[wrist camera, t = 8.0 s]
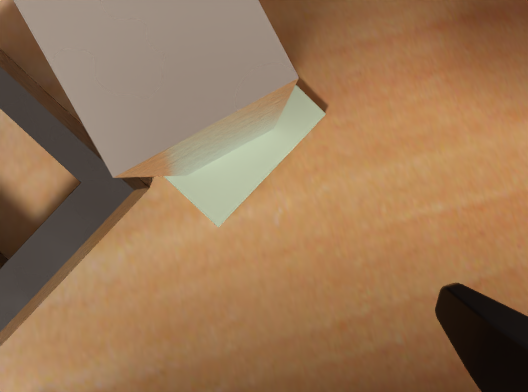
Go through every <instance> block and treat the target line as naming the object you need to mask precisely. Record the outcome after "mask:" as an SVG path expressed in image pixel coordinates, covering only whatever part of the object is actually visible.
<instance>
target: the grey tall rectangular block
mask: <svg viewBox="0 0 528 392" xmlns="http://www.w3.org/2000/svg"><path fill="white" fill-rule="evenodd" d="M14 2H15V4H16V6H17V7H18V9H19V11H20V13H21V15H22V16H23V18H24V20H25V22H26V23H27V25H28V27H29V29H30V31H31V32H32V34H33V36H34V38H35V39H36V41H37V43H38V45H39V47H40V48H41V50H42V52H43V54H44V56H45V57H46V59H47V61H48V63H49V64H50V66H51V68H52V70H53V72H54V73H55V75H56V77H57V79H58V80H59V82H60V84H61V86H62V88H63V89H64V91H65V93H66V95H67V97H68V98H69V100H70V102H71V104H72V105H73V107H74V109H75V111H76V113H77V114H78V116H79V118H80V120H81V121H82V123H83V125H84V127H85V129H86V130H87V132H88V134H89V136H90V137H91V139H92V141H93V143H94V145H95V146H96V148H97V150H98V152H99V154H100V155H101V157H102V159H103V161H104V162H105V164H106V166H107V168H108V170H109V171H110V173H111V175H112V177H113V178H122V177H154V176H186V175H189V174H191V173H193V172H195V171H197V170H198V169H200V168H202V167H204V166H206V165H208V164H210V163H211V162H213V161H215V160H217V159H219V158H221V157H223V156H224V155H226V154H228V153H230V152H232V151H234V150H236V149H237V148H239V147H241V146H243V145H245V144H247V143H249V142H250V141H252V140H254V139H256V138H258V137H260V136H262V135H263V134H265V133H267V132H269V131H271V130H273V129H274V128H275V126H276V124H277V122H278V120H279V118H280V116H281V114H282V112H283V109H284V107H285V105H286V103H287V101H288V99H289V97H290V95H291V93H292V91H293V89H294V87H295V85H296V83H297V81H298V79H299V77H298V75H297V73H296V71H295V69H294V67H293V65H292V64H291V62H290V60H289V58H288V56H287V54H286V52H285V50H284V48H283V46H282V44H281V42H280V41H279V39H278V37H277V35H276V33H275V31H274V29H273V27H272V25H271V23H270V21H269V20H268V18H267V16H266V14H265V12H264V10H263V8H262V6H261V4H260V2H259V0H14Z"/></svg>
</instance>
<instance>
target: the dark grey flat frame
mask: <svg viewBox="0 0 528 392" xmlns="http://www.w3.org/2000/svg"><path fill="white" fill-rule="evenodd" d="M0 109H2V110H3V111H4V112H5V113H6V114H7V115H8V116H9V117H10V118H11V119H12V120H13V121H15V122H16V123H17V124H18V125H19V126H20V127H21V128H22V129H23V130H24V131H25V132H27V133H28V134H29V135H30V136H31V137H32V138H33V139H34V140H35V141H36V142H37V143H39V144H40V145H41V146H42V147H43V148H44V149H45V150H46V151H47V152H48V153H49V154H50V155H52V156H53V157H54V158H55V159H56V160H57V161H58V162H59V163H60V164H61V165H62V166H64V167H65V168H66V169H67V170H68V171H69V172H70V173H71V174H72V175H73V176H74V177H76V178H77V179H78V180H79V181H80V182H81V183H80V184H79V186H78V187H77V188H76V189H75V190H74V191H73V192H72V193H71V194H70V195H69V196H68V197H67V198H66V199H65V200H64V202H63V203H62V204H61V205H60V206H59V207H58V208H57V209H56V210H55V211H54V212H53V213H52V214H51V215H50V216H49V218H48V219H47V220H46V221H45V222H44V223H43V224H42V225H41V226H40V227H39V228H38V229H37V230H36V231H35V232H34V234H33V235H32V236H31V237H30V238H29V239H28V240H27V241H26V242H25V243H24V244H23V245H22V246H21V247H20V248H19V250H18V251H17V252H16V253H15V254H14V255H13V256H12V257H11V258H10V259H9V260H8V259H7V258H5V257H4V256H3V255H2V254H1V253H0V346H1V345H2V344H3V343H4V342H5V341H6V340H7V339H8V338H9V337H10V336H11V334H12V333H13V332H14V331H15V330H16V329H17V328H18V327H19V326H20V325H21V324H22V323H23V322H24V321H25V320H26V319H27V317H28V316H29V315H30V314H31V313H32V312H33V311H34V310H35V309H36V308H37V307H38V306H39V305H40V304H41V303H42V302H43V301H44V299H45V298H46V297H47V296H48V295H49V294H50V293H51V292H52V291H53V290H54V289H55V288H56V287H57V286H58V285H59V284H60V282H61V281H62V280H63V279H64V278H65V277H66V276H67V275H68V274H69V273H70V272H71V271H72V270H73V269H74V268H75V267H76V265H77V264H78V263H79V262H80V261H81V260H82V259H83V258H84V257H85V256H86V255H87V254H88V253H89V252H90V251H91V250H92V248H93V247H94V246H95V245H96V244H97V243H98V242H99V241H100V240H101V239H102V238H103V237H104V236H105V235H106V234H107V233H108V232H109V230H110V229H111V228H112V227H113V226H114V225H115V224H116V223H117V222H118V221H119V220H120V219H121V218H122V217H123V216H124V215H125V213H126V212H127V211H128V210H129V209H130V208H131V207H132V206H133V205H134V204H135V203H136V202H137V201H138V200H139V199H140V198H141V196H142V195H143V194H144V193H145V192H146V191H147V190H148V189H149V187H148V186H147V185H146V184H144V183H143V182H142V181H141V180H140V179H139V178H138V177H122V178H113V177H112V175H111V173H110V171H109V170H108V168H107V166H106V164H105V162H104V161H103V159H102V157H101V155H100V154H99V152H98V150H97V148H96V146H95V145H94V143H93V141H92V139H91V137H90V136H89V134H88V132H87V130H86V129H85V128H84V127H83V126H82V125H81V124H80V123H79V122H78V121H77V120H76V119H75V118H73V117H72V116H71V115H70V114H69V113H68V112H67V111H66V110H65V109H64V108H63V107H62V106H61V105H59V104H58V103H57V102H56V101H55V100H54V99H53V98H52V97H51V96H50V95H49V94H48V93H47V92H45V91H44V90H43V89H42V88H41V87H40V86H39V85H38V84H37V83H36V82H35V81H34V80H33V79H32V78H30V77H29V76H28V75H27V74H26V73H25V72H24V71H23V70H22V69H21V68H20V67H19V66H18V65H16V64H15V63H14V62H13V61H12V60H11V59H10V58H9V57H8V56H7V55H6V54H5V53H4V52H2V51H1V50H0Z"/></svg>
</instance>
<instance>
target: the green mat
mask: <svg viewBox="0 0 528 392" xmlns="http://www.w3.org/2000/svg"><path fill="white" fill-rule="evenodd" d="M325 115H326V114H325V113H324V112H323V111H322V110H321V109H320V108H319V107H318V106H317V105H316V104H315V103H314V102H313V101H312V100H311V99H310V98H309V97H308V96H307V95H306V94H305V93H304V92H303V91H302V90H301V89H300V88H299V87H298V86H297V85H295V87H294V89H293V91H292V93H291V95H290V97H289V99H288V101H287V103H286V105H285V107H284V109H283V112H282V114H281V116H280V118H279V120H278V122H277V124H276V126H275V128H274V129H273V130H271V131H269V132H267V133H265V134H263V135H262V136H260V137H258V138H256V139H254V140H252V141H250V142H249V143H247V144H245V145H243V146H241V147H239V148H237V149H236V150H234V151H232V152H230V153H228V154H226V155H224V156H223V157H221V158H219V159H217V160H215V161H213V162H211V163H210V164H208V165H206V166H204V167H202V168H200V169H198V170H197V171H195V172H193V173H191V174H189V175H186V176H164V177H165V178H166V179H167V180H168V181H169V182H170V183H171V184H173V185H174V186H175V187H176V188H177V189H178V190H179V191H180V192H181V193H182V194H183V195H184V196H185V197H186V198H188V199H189V200H190V201H191V202H192V203H193V204H194V205H195V206H196V207H197V208H198V209H199V210H200V211H201V212H203V213H204V214H205V215H206V216H207V217H208V218H209V219H210V220H211V221H212V222H213V223H214V224H215V225H216V226H218V227H219V226H220V225H221V224H222V223H223V222H224V221H225V220H226V219H227V218H228V217H229V216H230V215H231V214H232V213H233V212H234V210H235V209H236V208H237V207H238V206H239V205H240V204H241V203H242V202H243V201H244V200H245V199H246V198H247V197H248V196H249V195H250V194H251V193H252V191H253V190H254V189H255V188H256V187H257V186H258V185H259V184H260V183H261V182H262V181H263V180H264V179H265V178H266V177H267V176H268V175H269V174H270V173H271V171H272V170H273V169H274V168H275V167H276V166H277V165H278V164H279V163H280V162H281V161H282V160H283V159H284V158H285V157H286V156H287V155H288V154H289V152H290V151H291V150H292V149H293V148H294V147H295V146H296V145H297V144H298V143H299V142H300V141H301V140H302V139H303V138H304V137H305V136H306V135H307V134H308V132H309V131H310V130H311V129H312V128H313V127H314V126H315V125H316V124H317V123H318V122H319V121H320V120H321V119H322V118H323V117H324V116H325Z"/></svg>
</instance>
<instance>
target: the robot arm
mask: <svg viewBox="0 0 528 392" xmlns="http://www.w3.org/2000/svg"><path fill="white" fill-rule="evenodd" d="M435 313H436V316H437V319H438V321H439V322H440V324H441V326H442V328H443V329H444V331H445V333H446V335H447V336H448V338H449V340H450V342H451V343H452V345H453V347H454V348H455V350H456V352H457V354H458V355H459V357H460V359H461V361H462V362H463V364H464V366H465V367H466V369H467V371H468V372H469V374H470V376H471V377H472V378H473V380H474V381H475V383H476V384H477V386H478V387H479V389H480V390H481V391H482V392H528V316H526V315H524V314H522V313H520V312H518V311H516V310H514V309H512V308H510V307H508V306H506V305H503V304H501V303H499V302H497V301H495V300H493V299H491V298H489V297H487V296H485V295H483V294H481V293H479V292H477V291H475V290H473V289H471V288H469V287H467V286H465V285H463V284H460V283H452V284H449V285H446V286H443V287H442V288H441V290H440V293H439V296H438V300H437V303H436V307H435Z"/></svg>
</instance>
